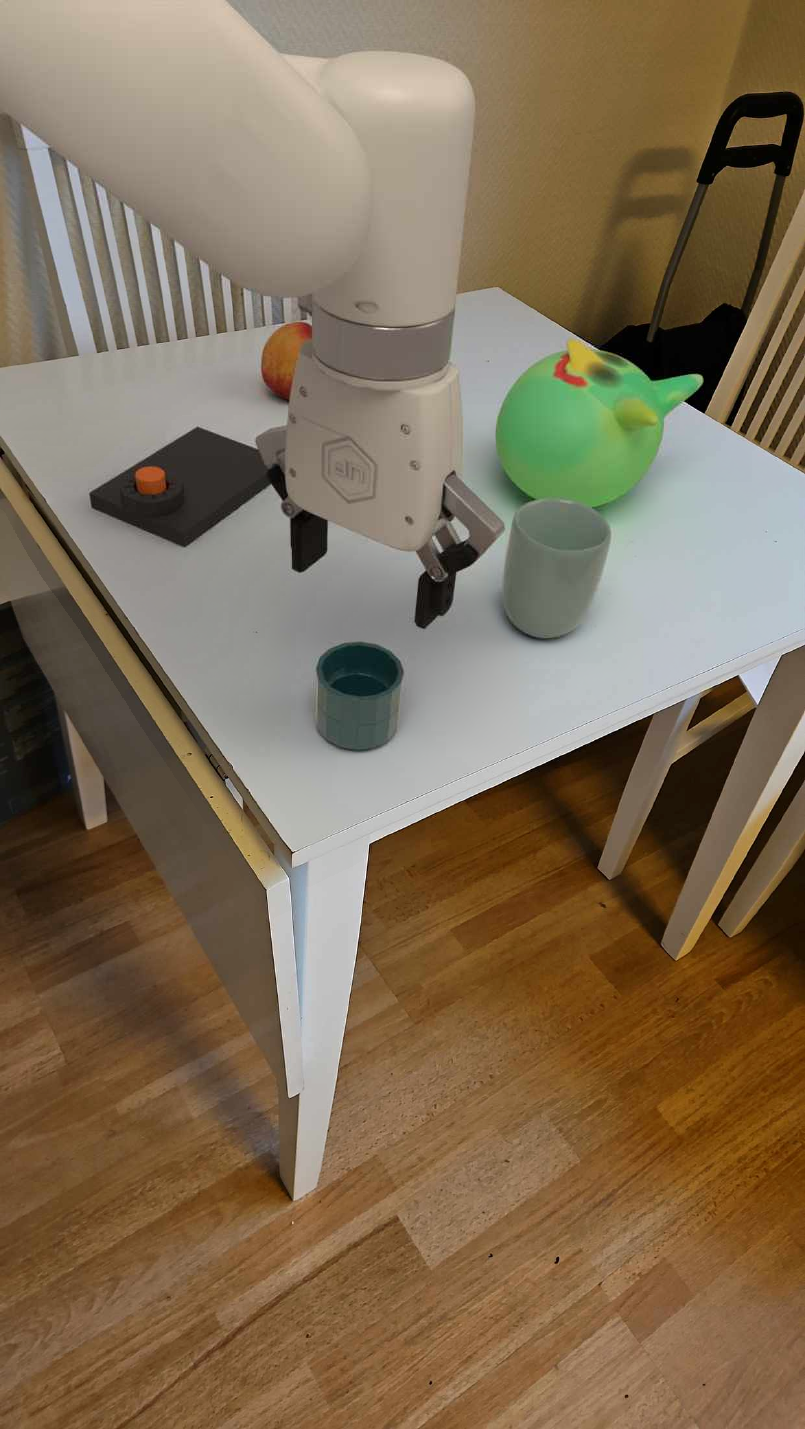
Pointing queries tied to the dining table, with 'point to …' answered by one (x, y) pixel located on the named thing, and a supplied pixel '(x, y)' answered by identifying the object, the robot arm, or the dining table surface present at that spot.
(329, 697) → the teal hollow faceted cylinder
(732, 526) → the dining table surface
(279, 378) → the fruit
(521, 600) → the cup
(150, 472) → the button
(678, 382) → the toy bird
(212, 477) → the scale
